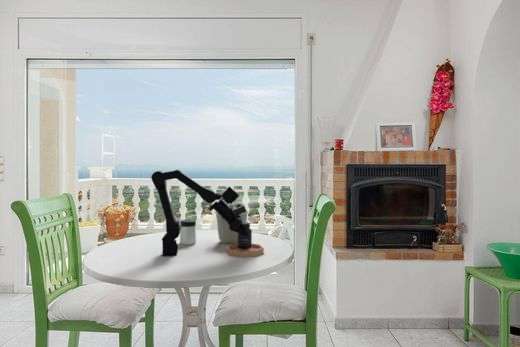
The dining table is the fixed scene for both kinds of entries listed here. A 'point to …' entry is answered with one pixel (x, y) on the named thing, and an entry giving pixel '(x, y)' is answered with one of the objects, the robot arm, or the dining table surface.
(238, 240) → the supplement bottle
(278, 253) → the dining table surface
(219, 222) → the canister
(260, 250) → the terracotta octagonal tray
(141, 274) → the dining table surface
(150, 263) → the dining table surface
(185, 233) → the jar
